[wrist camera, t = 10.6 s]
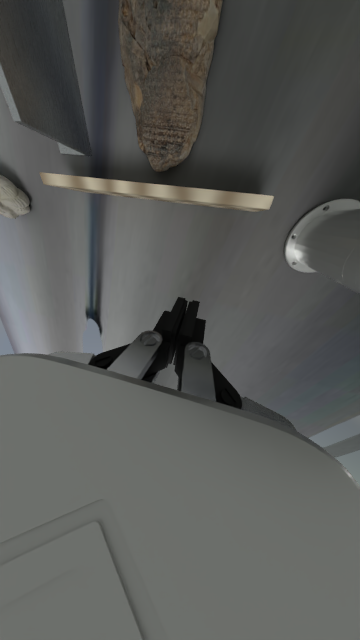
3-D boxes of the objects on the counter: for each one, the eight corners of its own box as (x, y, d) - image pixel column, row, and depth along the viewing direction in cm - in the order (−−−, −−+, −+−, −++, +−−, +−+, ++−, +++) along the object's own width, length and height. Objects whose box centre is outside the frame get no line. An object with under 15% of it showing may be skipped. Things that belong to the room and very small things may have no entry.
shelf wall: (259, 202, 27) (274, 196, 20) (256, 211, 28) (269, 209, 21) (79, 182, 32) (39, 172, 25) (81, 191, 33) (43, 184, 25)
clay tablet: (196, 181, 28) (238, -75, 15) (192, 176, 24) (243, -173, 11) (132, 170, 29) (120, -73, 16) (118, 163, 25) (90, -160, 13)
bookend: (57, -21, 19) (-134, -306, 9) (91, 156, 29) (21, 121, 18) (14, -17, 20) (-208, -272, 9) (61, 153, 29) (-22, 119, 19)
